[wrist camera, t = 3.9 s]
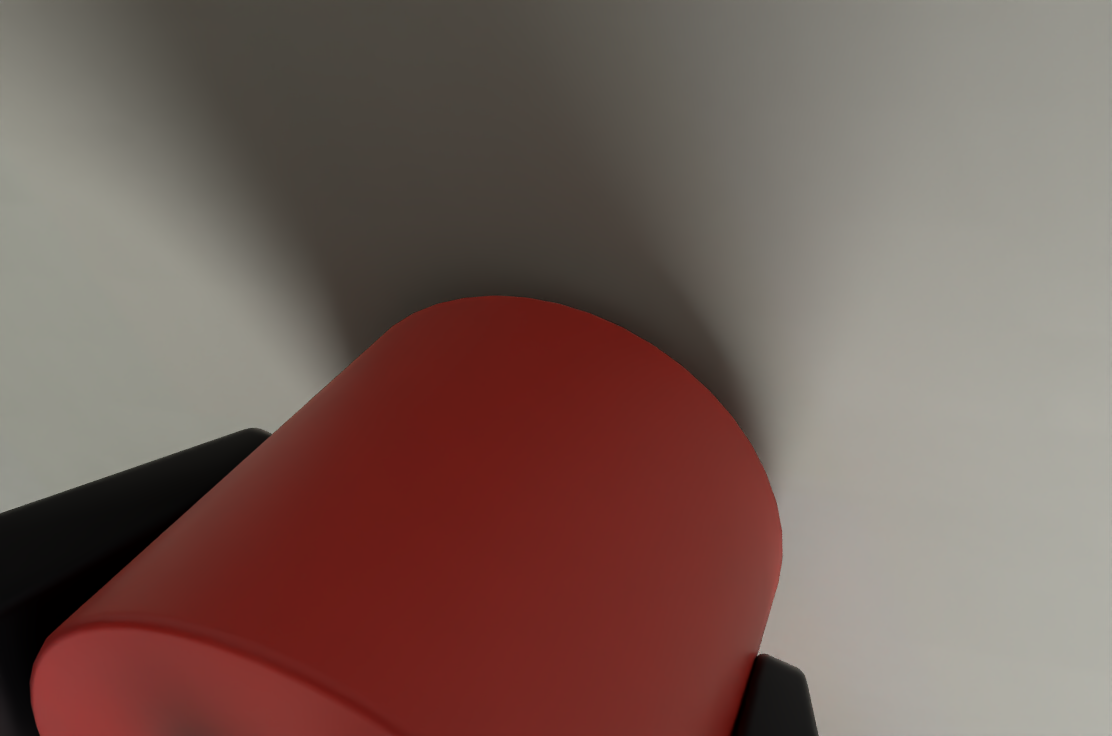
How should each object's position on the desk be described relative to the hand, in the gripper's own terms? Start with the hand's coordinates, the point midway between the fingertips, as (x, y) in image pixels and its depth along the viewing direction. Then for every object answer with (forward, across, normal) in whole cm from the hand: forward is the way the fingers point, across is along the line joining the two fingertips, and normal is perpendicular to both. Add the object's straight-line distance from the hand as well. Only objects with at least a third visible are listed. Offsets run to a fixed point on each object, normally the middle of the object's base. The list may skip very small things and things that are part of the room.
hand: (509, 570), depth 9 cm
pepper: (+1, 0, 0) cm, 1 cm away
